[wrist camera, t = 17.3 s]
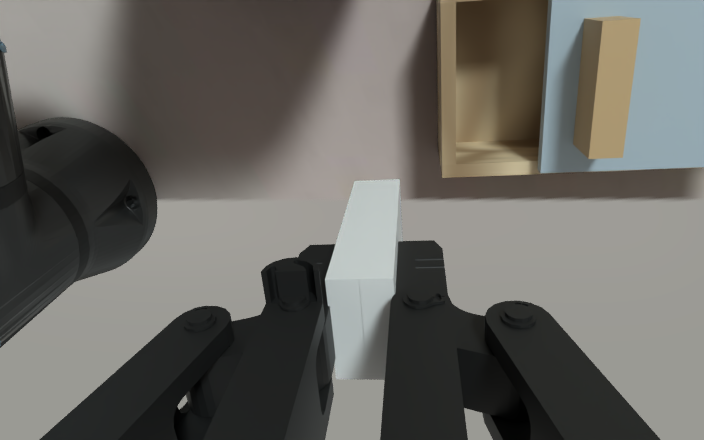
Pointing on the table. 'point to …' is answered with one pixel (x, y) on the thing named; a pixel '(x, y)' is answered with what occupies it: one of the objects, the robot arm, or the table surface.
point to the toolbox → (491, 86)
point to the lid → (622, 86)
